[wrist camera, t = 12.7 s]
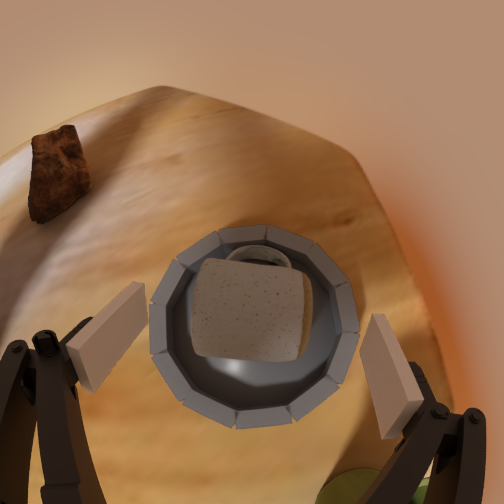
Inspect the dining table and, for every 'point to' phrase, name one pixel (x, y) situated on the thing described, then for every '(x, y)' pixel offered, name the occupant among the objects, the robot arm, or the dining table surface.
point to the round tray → (247, 371)
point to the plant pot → (359, 487)
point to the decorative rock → (56, 173)
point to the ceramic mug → (251, 307)
